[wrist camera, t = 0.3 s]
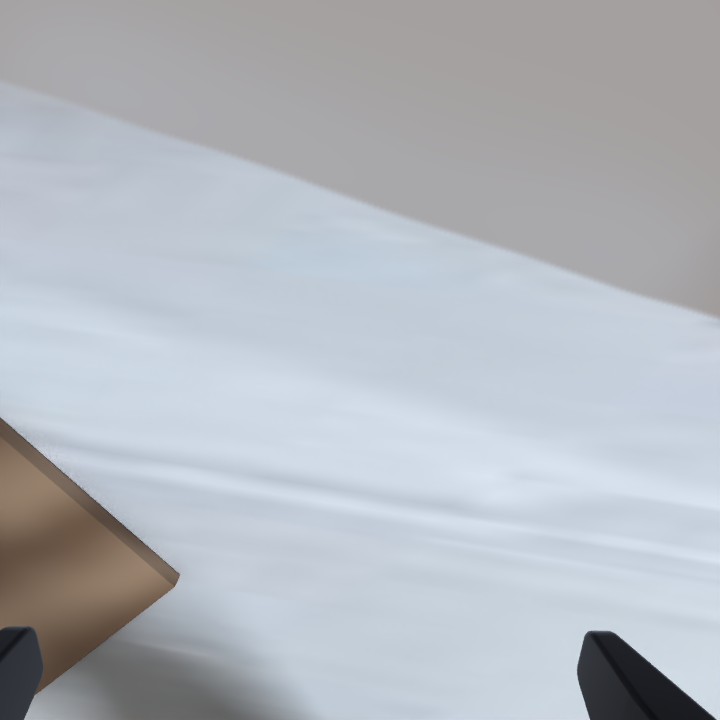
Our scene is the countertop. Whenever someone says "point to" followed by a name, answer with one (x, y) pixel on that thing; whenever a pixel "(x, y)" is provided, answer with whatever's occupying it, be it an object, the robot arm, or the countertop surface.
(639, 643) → the countertop surface
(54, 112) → the countertop surface
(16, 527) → the walnut board
